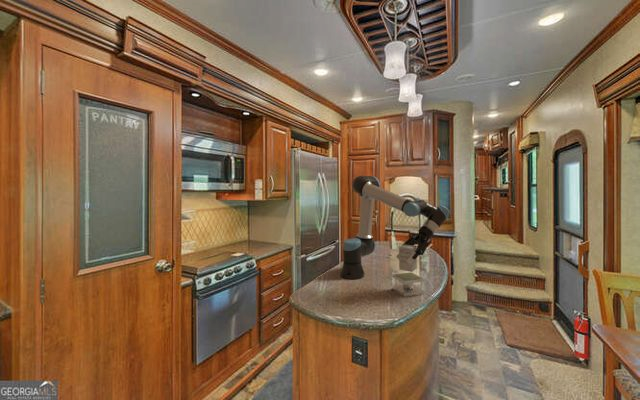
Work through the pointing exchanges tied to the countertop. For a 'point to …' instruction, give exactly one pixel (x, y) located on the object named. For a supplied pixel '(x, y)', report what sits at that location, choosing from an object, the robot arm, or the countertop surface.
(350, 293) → the countertop surface
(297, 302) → the countertop surface
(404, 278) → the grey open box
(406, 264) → the supplement box
